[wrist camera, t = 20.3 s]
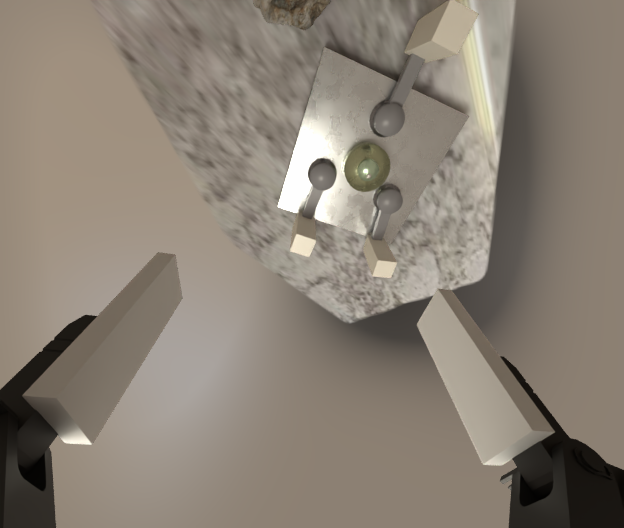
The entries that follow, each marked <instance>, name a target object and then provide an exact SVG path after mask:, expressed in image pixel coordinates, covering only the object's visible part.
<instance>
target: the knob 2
mask: <svg viewBox="0 0 624 528" xmlns="http://www.w3.org/2000/svg"><path fill="white" fill-rule="evenodd" d="M376 203H377V206H378V207H379V209H380V210H379V213H378V216H377V220H376V223H375V226H374V229H373V233H372V236H369V235H367V238H366V241H365V245H364V248H363V251H364V254H365V257H366V259H367V262H368V265H369V268H370V271H371V274H372V276H376V277H386V278H391V276H392V274H393V271H394V269H395V266H396V264H397V262H396V260H395V258H394V256H393V254H392V252H391V250H390V248H389V246H388V245H387V243H386V241H385V239H384V237H383V236H384V233H385V231H386V228H387V225H388V222H389V219H390V216H391V214H393V213H395V212H397V211H398V210H399V209H400V208H401V206H402V204H403V198H402V195H401V194H400V193H399V192H398V191H397V190H396V189H395V188H392V187H387V188H384V189H382V190H381V191H380V192H379V193H378V195H377V197H376Z"/></svg>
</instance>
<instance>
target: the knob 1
mask: <svg viewBox="0 0 624 528" xmlns="http://www.w3.org/2000/svg"><path fill="white" fill-rule="evenodd" d="M335 180H336V175H335V172H334V169H333V167H332V166H331V165H330V164H329V163H327V162H319V163H317V164H315V165H314V166H313V167H312V169H311V172H310V181H311V184H312V185H313V186H312V189H311V191H310V194H309V196H308V199H307V202H306V204H305V207H304V210H303V212H302V213H301V212H298V214H297V216H296V219H295V222H294V225H293V228H292V237H291V246H290V251H291V252H294V253H298V254H301V255H304V256H307V257H309V256H310V254H311V252H312V249H313V247H314V245H315V243H316V224H315V217H313V215H314V212H315V210H316V208H317V205H318V203H319V200H320V198H321V195H322V193H323V191H325V190H328V189H330V188H331V187H332V186H333V185H334V183H335Z"/></svg>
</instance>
